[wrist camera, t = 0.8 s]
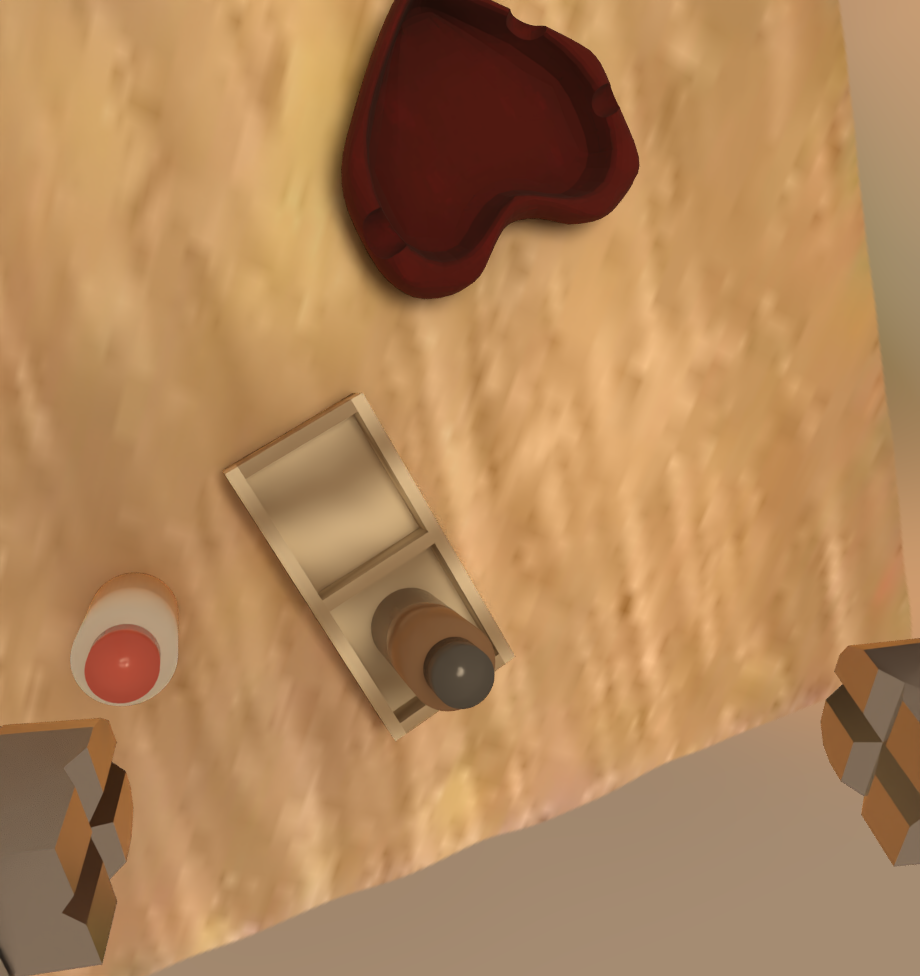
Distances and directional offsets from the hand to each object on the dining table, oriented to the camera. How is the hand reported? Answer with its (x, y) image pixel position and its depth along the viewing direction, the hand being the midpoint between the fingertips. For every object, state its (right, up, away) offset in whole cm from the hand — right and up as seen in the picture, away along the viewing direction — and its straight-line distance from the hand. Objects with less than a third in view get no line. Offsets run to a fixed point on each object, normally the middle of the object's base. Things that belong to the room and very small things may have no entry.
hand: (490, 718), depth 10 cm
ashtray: (-1, +24, +44) cm, 50 cm away
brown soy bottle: (-3, -6, +44) cm, 44 cm away
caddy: (-6, -2, +44) cm, 44 cm away
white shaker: (-19, -5, +40) cm, 44 cm away
